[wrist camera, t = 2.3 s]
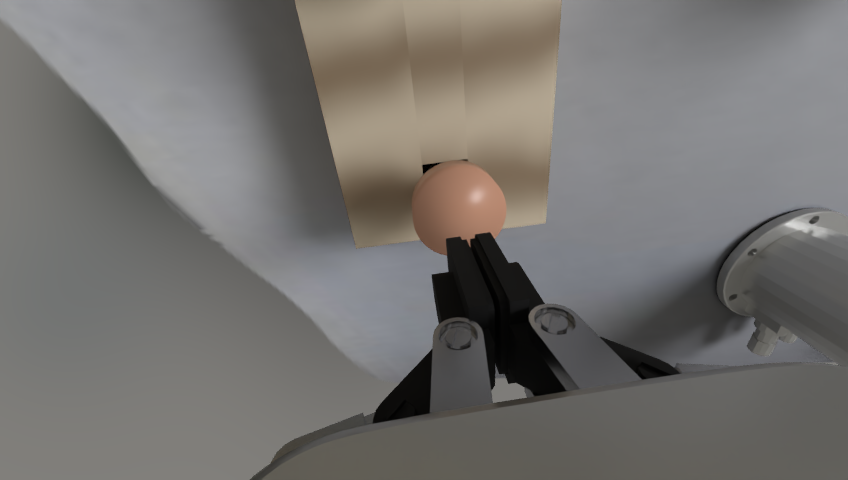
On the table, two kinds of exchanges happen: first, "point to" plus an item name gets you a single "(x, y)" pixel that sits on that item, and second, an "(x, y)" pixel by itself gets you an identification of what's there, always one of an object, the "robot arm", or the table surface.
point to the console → (434, 100)
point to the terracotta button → (456, 204)
